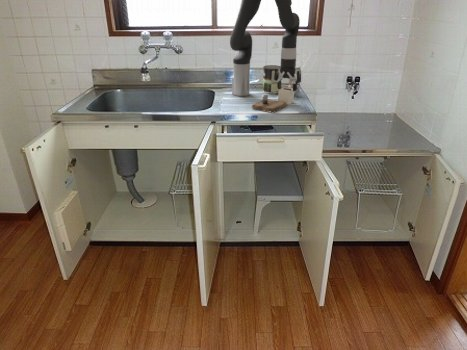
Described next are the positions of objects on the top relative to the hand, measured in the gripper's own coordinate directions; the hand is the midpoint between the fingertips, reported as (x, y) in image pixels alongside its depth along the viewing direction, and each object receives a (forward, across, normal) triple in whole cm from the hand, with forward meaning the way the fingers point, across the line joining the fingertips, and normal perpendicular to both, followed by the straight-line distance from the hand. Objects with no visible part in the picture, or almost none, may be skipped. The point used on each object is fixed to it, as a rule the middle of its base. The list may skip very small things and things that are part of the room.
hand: (286, 90), depth 179 cm
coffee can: (+7, -19, +16) cm, 26 cm away
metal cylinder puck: (+5, -5, -13) cm, 15 cm away
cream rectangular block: (+7, 0, 0) cm, 7 cm away
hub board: (+7, -3, -12) cm, 14 cm away
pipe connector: (+7, -6, +14) cm, 17 cm away
